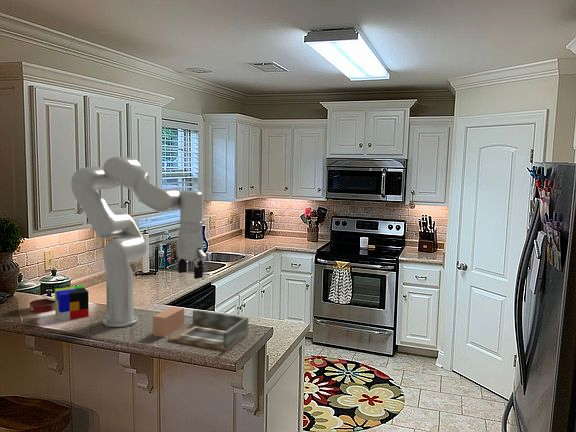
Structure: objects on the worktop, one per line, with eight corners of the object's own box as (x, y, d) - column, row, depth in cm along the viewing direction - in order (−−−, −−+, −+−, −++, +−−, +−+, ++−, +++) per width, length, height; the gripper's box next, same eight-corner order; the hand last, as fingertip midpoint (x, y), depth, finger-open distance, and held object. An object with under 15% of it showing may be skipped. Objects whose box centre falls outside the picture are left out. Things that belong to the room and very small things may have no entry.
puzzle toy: (60, 321, 177) (59, 295, 176) (55, 313, 185) (54, 289, 184) (88, 316, 183) (88, 291, 182) (82, 309, 191) (82, 285, 190)
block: (164, 337, 164) (164, 318, 163) (152, 335, 166) (152, 316, 165) (183, 326, 176) (183, 308, 175) (172, 324, 177) (172, 306, 176)
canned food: (35, 318, 194) (36, 294, 197) (61, 315, 195) (62, 291, 198) (22, 313, 183) (24, 288, 187) (49, 310, 184) (51, 285, 188)
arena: (168, 340, 161) (168, 323, 160) (194, 325, 177) (194, 309, 176) (226, 351, 154) (226, 333, 153) (248, 333, 170) (248, 317, 169)
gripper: (168, 224, 167) (167, 271, 169) (196, 231, 155) (195, 282, 157) (186, 223, 172) (185, 269, 174) (215, 229, 160) (213, 278, 162)
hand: (190, 275), depth 166 cm, fingers open, 9 cm apart
